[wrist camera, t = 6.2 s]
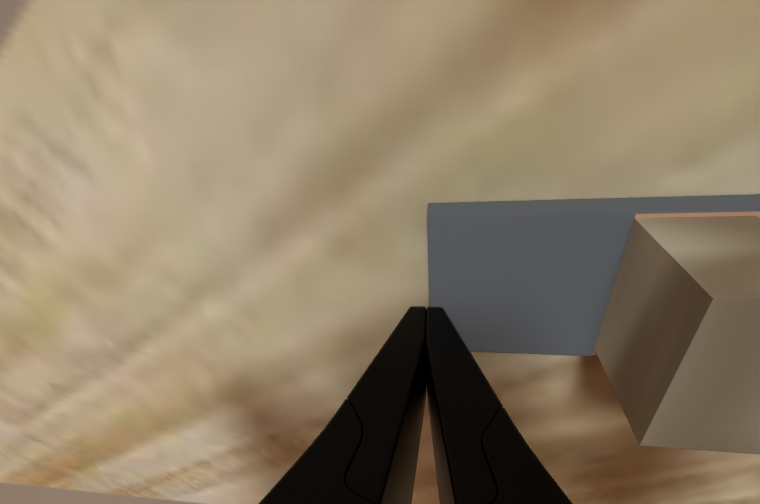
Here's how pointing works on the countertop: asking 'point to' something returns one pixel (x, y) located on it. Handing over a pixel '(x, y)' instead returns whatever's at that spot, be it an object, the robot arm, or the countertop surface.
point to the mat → (541, 265)
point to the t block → (687, 333)
